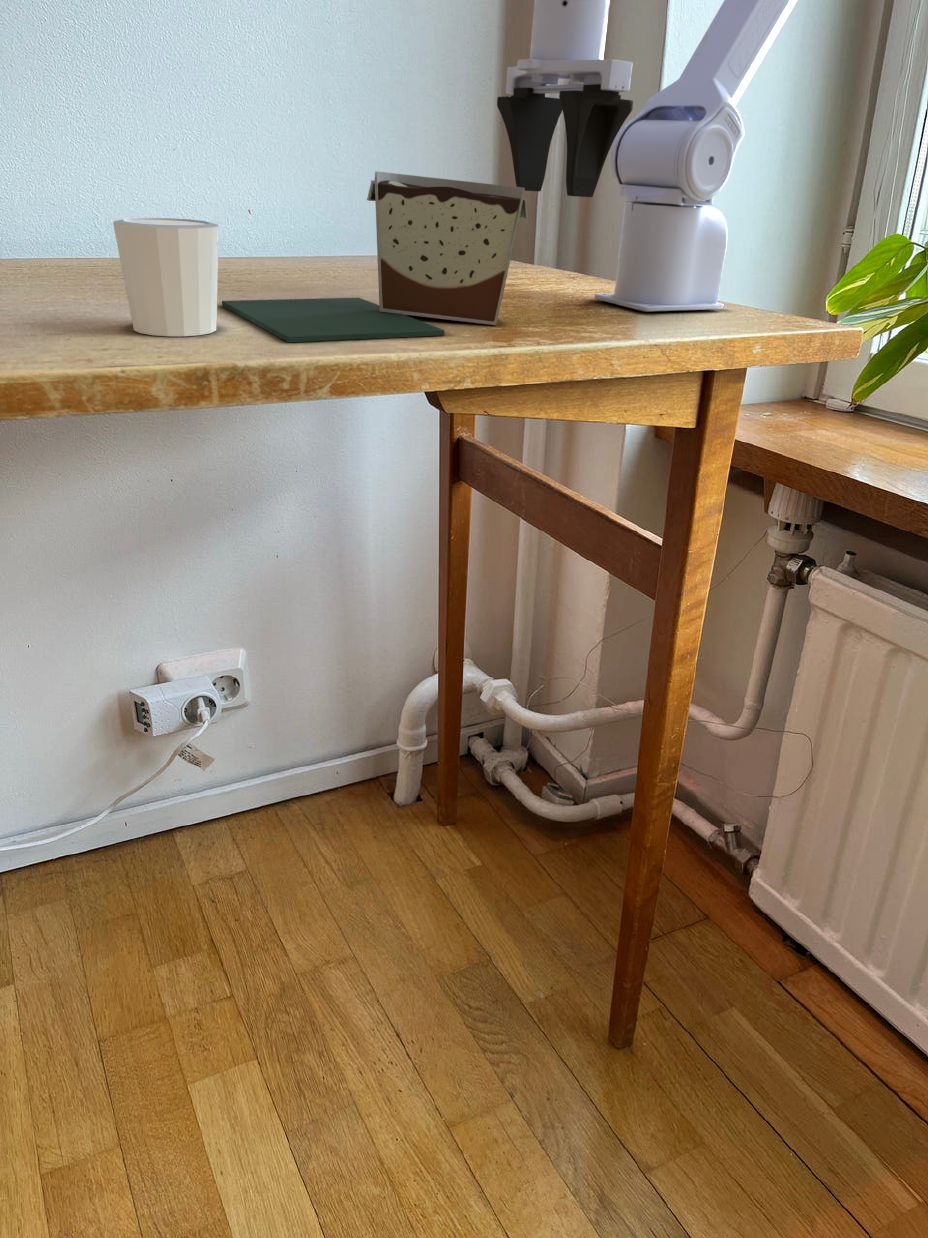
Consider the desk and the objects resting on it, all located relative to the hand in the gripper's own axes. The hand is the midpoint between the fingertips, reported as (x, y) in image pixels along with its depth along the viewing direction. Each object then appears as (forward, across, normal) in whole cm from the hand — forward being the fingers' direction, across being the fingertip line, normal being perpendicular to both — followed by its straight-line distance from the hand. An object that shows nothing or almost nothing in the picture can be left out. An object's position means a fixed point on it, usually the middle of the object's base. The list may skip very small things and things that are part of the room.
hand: (553, 193), depth 78 cm
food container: (+10, 0, -10) cm, 14 cm away
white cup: (+10, +2, -32) cm, 33 cm away
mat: (+10, 0, -20) cm, 22 cm away
